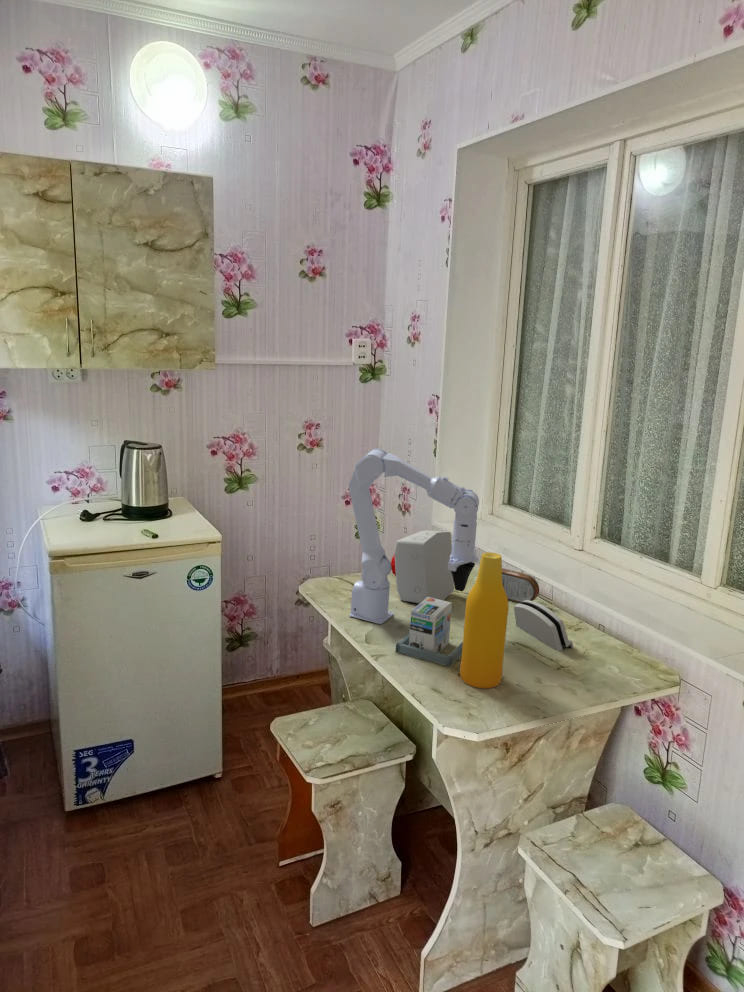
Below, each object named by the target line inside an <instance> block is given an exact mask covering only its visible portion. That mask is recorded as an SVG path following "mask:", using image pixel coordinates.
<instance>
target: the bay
mask: <svg viewBox="0 0 744 992" xmlns="http://www.w3.org/2000/svg"><path fill="white" fill-rule="evenodd" d="M409 636H410V632H409V633H407V634H406V635H405V636H404V637H402V638H401V639H400V640H399V641H398V642H397V643H395V653H399V654H402V655H406V656H410V657H412V658H417V659H421V660H424V661H428V662H430V663H431V662H432V663H436V664H440V665H443V666H447V667H452V665H454V663H456V661H457V660H459V659H460V658H461V657H462V647H463V641H461V643H460V644H458V646H457V647H456V648H455V649H454V650H452V652H451V653H450V654H448V655H446V654H442V653H440V652H439V653H435V652H432V651H428V650H424V649H420V648H417V647H413V646H409Z"/></svg>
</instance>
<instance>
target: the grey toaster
mask: <svg viewBox="0 0 744 992" xmlns="http://www.w3.org/2000/svg"><path fill="white" fill-rule="evenodd" d="M513 609H514V610H513V611H514V612H513V613H514V619H515V626H516V627H517V628H519V629H520V630H522V631H524V632H525V633H527V634H529V635H530V636H532V637H534V638H535V639H537V640H539V641H540V642H541V643H544V644H545V645H548V646H549V647H550V648H551V649H554V650H556V651H557V652H562V651H563V648H564V647H565V648H568V647H569V648H571V649H573V648H574V644H573V641H572V640H570V639H569V637H568V635H567V634H568V633H567V630H566V626H565V624H564V623H565V622H564V621H563V620H562V618H560V617H559V616H558V614H556V613H555V612H553V611H552V610H550V608H548V607H547V606H545V605H543V604H541V603H539V602H537V601H534V600H533V601H530V600H525V601H522V602H521V603H517V604H515V606H514V607H513Z"/></svg>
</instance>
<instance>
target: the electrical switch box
mask: <svg viewBox="0 0 744 992" xmlns="http://www.w3.org/2000/svg"><path fill="white" fill-rule="evenodd" d="M451 552H452V533H451V531H441V530H428V529H427V530H420V531H418V532H415V533H413V534H411V535H408V536H405V537H403V538H400V539H398V540H396V543H395V547H394V553H393V556H392V557H391V560H390V563H391V567H392V568H391V572H392V574H393V575H394V576H395V579H396V581H395V582H396V591H397V593H398V595H399V599H400V601H404V602H407V603H416V604H420V603H421V602H422V601H423V600H425V599H426V598H427V597H431V598H434V599H439V600H443V601H445V600H446V598H448V597H449V596H450V595H451V594H452V593H453V592H454V591H455V586H454V580H453V576H452V573H451V571H450V570H448V562H449V561H450V555H451Z"/></svg>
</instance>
